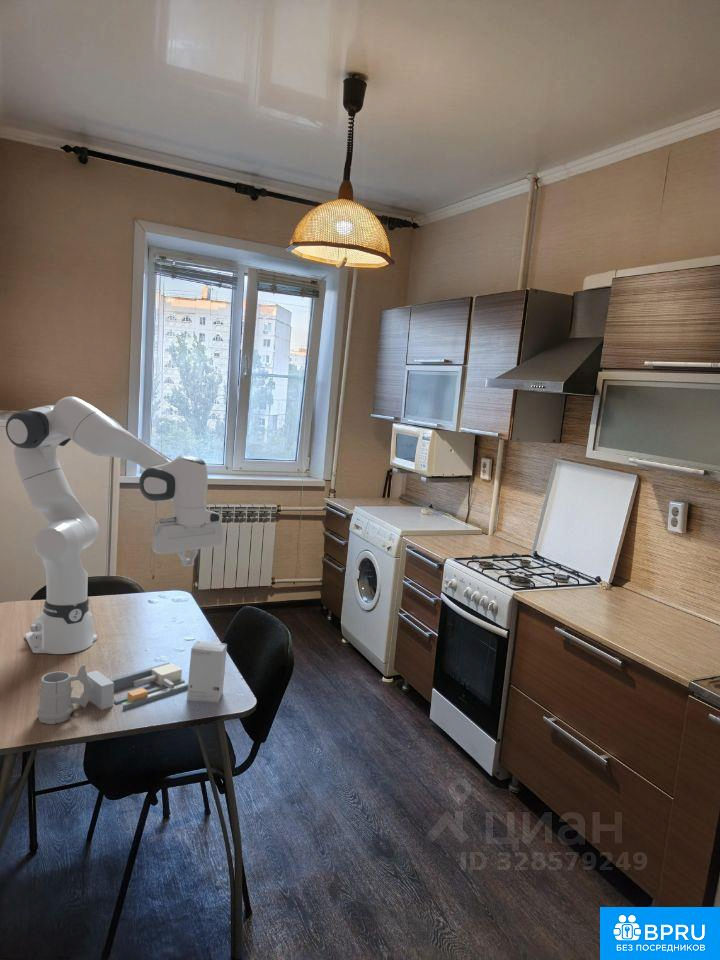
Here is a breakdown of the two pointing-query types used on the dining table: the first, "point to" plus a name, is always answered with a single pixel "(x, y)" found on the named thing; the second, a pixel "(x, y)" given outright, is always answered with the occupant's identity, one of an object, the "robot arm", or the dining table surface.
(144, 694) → the orange rectangular block
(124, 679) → the base
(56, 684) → the mug
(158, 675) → the cream block with rods
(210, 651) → the skincare box
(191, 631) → the dining table surface
